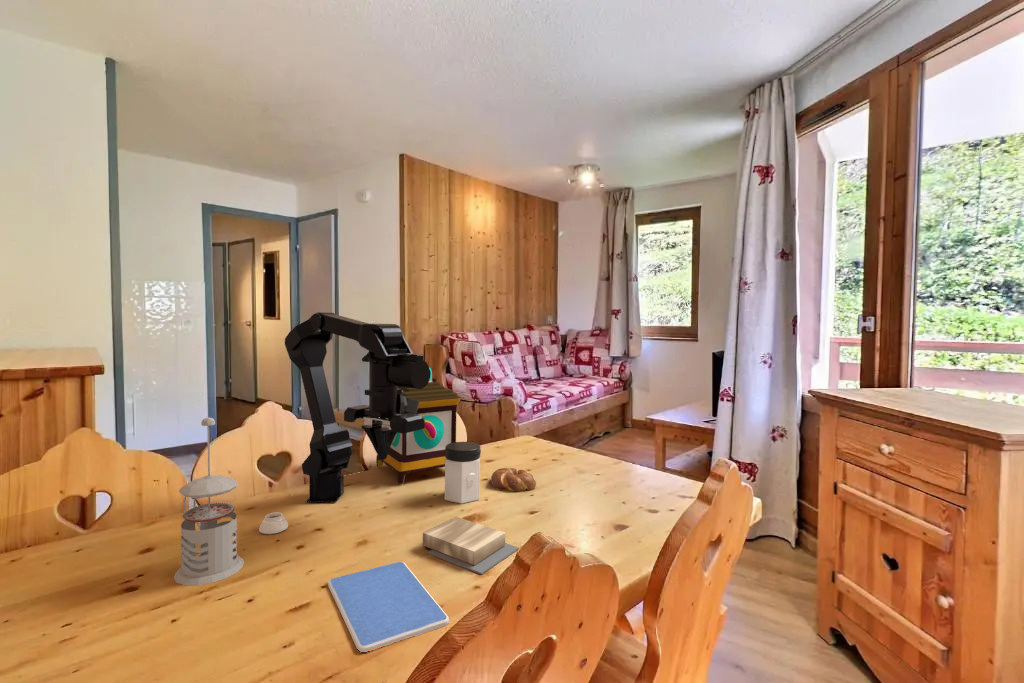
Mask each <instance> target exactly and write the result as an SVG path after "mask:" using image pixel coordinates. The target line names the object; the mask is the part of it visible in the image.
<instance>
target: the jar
mask: <svg viewBox="0 0 1024 683" xmlns="http://www.w3.org/2000/svg"><path fill="white" fill-rule="evenodd" d="M481 452H482V450H481V445H480V444H479V443H476V442H472V441H456V442H454V443H450V444H447V445H446V447H445V457H446V459H445V467H444V500H445V501H447V502H453V503H456V504H457V503H458V504H466V503H467V504H468V503H471V502H472V503H473V502H475V501H480V469H481V468H480V466H481V465H480V463H481Z"/></svg>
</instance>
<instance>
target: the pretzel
mask: <svg viewBox="0 0 1024 683" xmlns="http://www.w3.org/2000/svg"><path fill="white" fill-rule="evenodd" d="M490 481H491V485H492V487H493V488H494V489H497V490H500V491H509V490H510V491H509V492H512V491H511V490H514V492H523V490H525V491H526V489H527V491H531V489H532V490H534V489H535V488H536V487H537V482H536V479H535V478H534V475H533V474H532V473H530V472H528V471H526V470H524V469H518V470H517V468H513V467H509V468H507V467H502V468H498V469H496V470H495V471H493V473H492V474H491V476H490Z"/></svg>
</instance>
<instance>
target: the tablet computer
mask: <svg viewBox="0 0 1024 683" xmlns="http://www.w3.org/2000/svg"><path fill="white" fill-rule="evenodd" d="M327 587H328V589H329V591H330V594H331V595H332V598H333V600H334V602H335V603H336V606H337V607H338V610H339V612H340V615H341V616H342V619H343V621H344V624H345V626H346V628H347V630H348V632H349V635H350V636H351V638H352V641H353V643H354V645H355V647H356V650H357V649H358V650H359V651H368V650H371V649H374V648H377V647H378V648H379V647H381V646H385V645H389V644H392V643H394V642H397V641H400V640H402V639H405V638H409V637H412V636H415V637H417V636H420V635H423V634H427V633H429V632H432V631H434V630H437V629H440V628H443V627H445V626H447V625H448V624H449V623H450V617H449V616H448V614H447V613H446V612H445V611H444V610H443V608H442V607H441V606H440V605H439V603H437V601H436V600H435V599H434V597H433V596H432V595H431V593H429V591H428V590H427V588H426V587H425V586H424V585H423V583H422V582H421V581H420V580H419V579H418V577H417V576H416V575H415V574H414V573H413V571H412V570H411V569H410V568H409V567H408V565H407V564H406V563H405V562H403V561H397V562H393V563H389V564H384V565H382V566H376V567H373V568H369V569H365V570H362V571H357V572H352V573H349V574H345V575H340V576H336V577H333V578H332V577H331V578H330V579H329V580H328V581H327ZM412 638H413V637H412ZM409 639H410V638H409ZM400 642H401V641H400ZM397 643H398V642H397ZM394 644H395V643H394ZM392 645H393V644H392ZM389 646H390V645H389ZM358 650H357V651H358ZM359 651H358V652H359Z"/></svg>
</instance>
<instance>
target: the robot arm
mask: <svg viewBox="0 0 1024 683" xmlns="http://www.w3.org/2000/svg"><path fill="white" fill-rule="evenodd" d="M333 335H337V336H341V337H343V338H346V339H350V340H354V341H356V342H357V343H358V345H359V346H360V347H361V348H363V349H365V350H367V351H368V352H367V354H366V355H364V356H362V358H361V362H362V363H369V365H368V367H369V372H368V389H364V395H365V396H368V404H362V405H361V404H360V405H355V406H349V407H347V408H346V409H345V410H344V412H343V421H344V422H347V423H355V422H356V420H358V419H363V420H364V422H363V424H364V425H361V426H360V427H361V429H362V430H364V433H365V434H366V435H367V438H368V439H369V441H370V442H371V445H372V447H373V449H374V450H375V453H376V456H377V455H378V457H379V459H381V460H384V459H386V458H387V455H388V452H389V450H390V447H391V444H392V441H393V439H394V437H395V435H396V433H397V432H398V433H409V432H413V431H417V430H421V429H425V419H424V417H423V416H422V415H418V414H416V413H417V409H418V405H419V401H417V400H414V399H411V398H408V397H404V396H403V391H402V389H398V386H399V387H407V388H415V389H422V388H424V387H425V386H426V385H427V384H428V382H429V380H430V375H431V371H432V370H431V371H430V369H429V367H430V366H429V364H428V363H427V361H425V360H424V359H425V358H424V357H425V356H424V354H422V353H416V354H415V353H414V352H413V350H412V348H411V347H410V345H409V343H408V341H407V340H406V338H405V336H404V334H403V332H402V328H401V326H400V325H399V324H397V323H368V322H365V321H361V320H357V319H353V318H350V317H346V316H343V315H340V314H336V313H334V312H321V311H319V312H316V313H313V314H312V315H311V316H310V317H309V318H308V319H306V320H305V321H302V322H300V323H299V324H297V325H295V326H294V327H293V329H291V330H290V331H289V332H288V334H287V335H286V336H285V338H284V346H285V349H286V352H287V354H288V357H289V360H290V361H291V363H293V364H294V365H295V366H296V367H297V368H298V369H299V373H300V375H301V380H302V384H303V389H304V393H305V397H306V402H307V406H308V407H307V408H308V411H309V414H310V418H311V423H312V428H313V432H312V435H311V439H310V442H309V450H310V451H309V455H307V457H306V459H305V460H304V461H303V462H302V464H301V468H302V469H301V470H302V474H304V475H307V476H309V478H308V479H309V480H308V482H309V483H308V484H309V486H308V487H309V494H308V495H309V497H307V499H306V503H337V501H339V499H340V498H341V497H342V495H343V494H344V493H345V488H344V487H345V486H344V485H345V483H344V482H345V477H344V475H342V470H344V469H347V468H348V467H349V462H350V459H351V456H352V455H353V450H352V448H353V447H354V446H353V443H352V442H351V438H350V432H349V431H348V429H342V428H341V427H340V426H339V425H338V423H337V420H336V416H335V411H334V407H333V402H332V398H331V394H330V391H329V390H330V389H329V385H328V381H327V378H326V372H325V369H324V361H325V359H326V356H327V353H328V351H327V349H328V348H327V345H328V343H330V342H331V341H332V340H333ZM404 413H405V414H404ZM397 414H402V415H397ZM386 418H388V419H386Z"/></svg>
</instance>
